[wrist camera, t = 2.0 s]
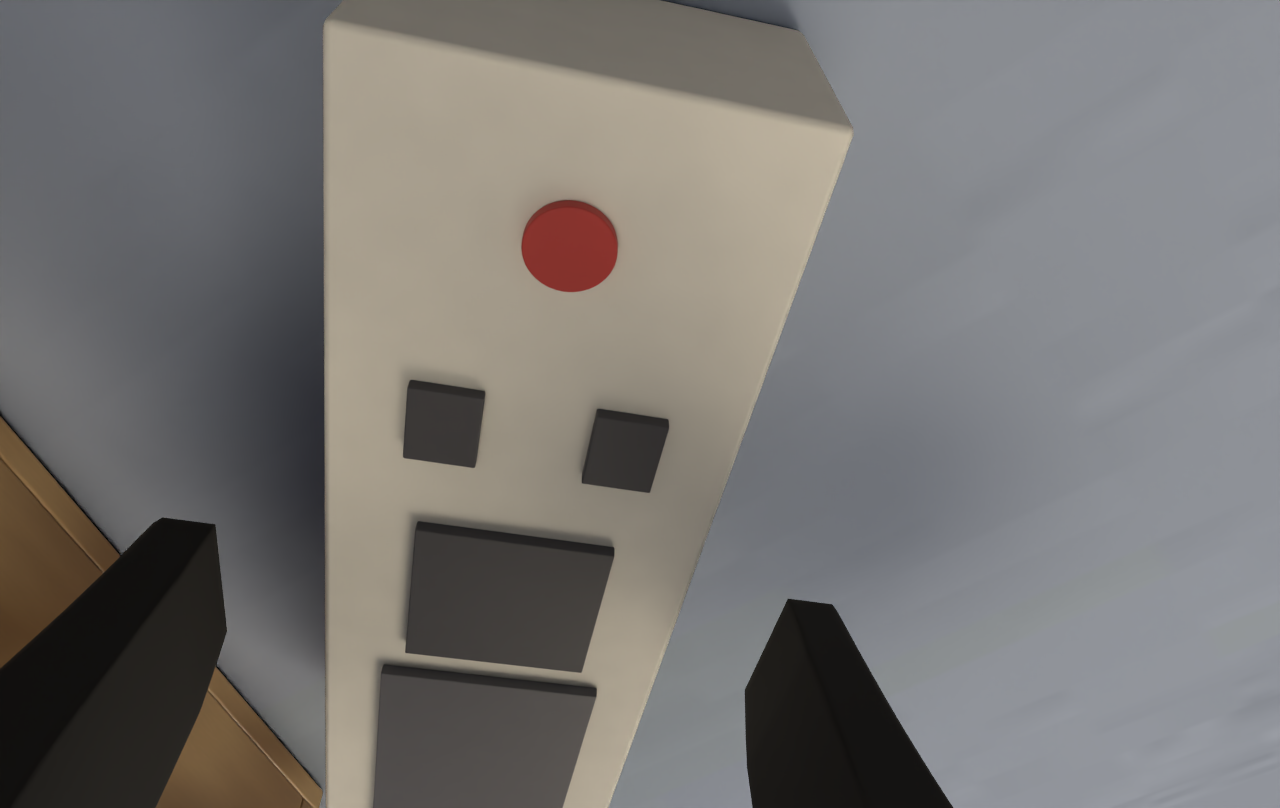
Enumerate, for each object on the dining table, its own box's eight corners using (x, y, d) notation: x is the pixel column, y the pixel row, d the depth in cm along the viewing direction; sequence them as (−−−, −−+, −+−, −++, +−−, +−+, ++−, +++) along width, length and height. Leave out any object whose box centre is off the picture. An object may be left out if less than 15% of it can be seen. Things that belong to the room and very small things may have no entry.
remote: (591, 722, 19) (586, 880, 16) (363, 698, 18) (322, 858, 16) (805, 30, 10) (862, 136, 8) (393, -62, 10) (314, 24, 7)
